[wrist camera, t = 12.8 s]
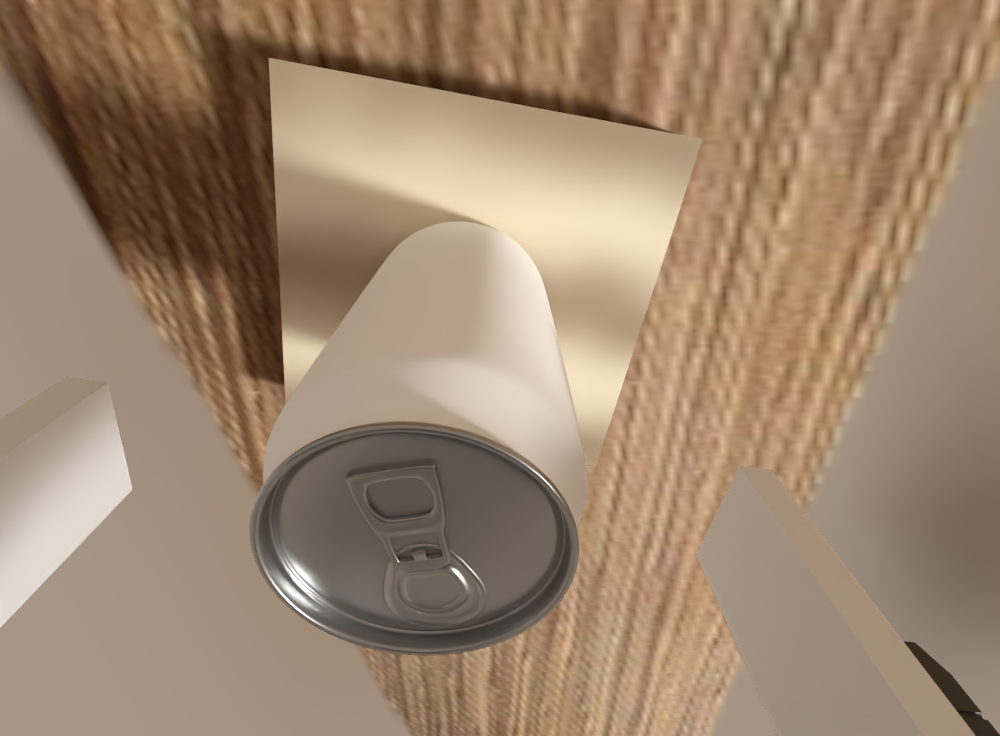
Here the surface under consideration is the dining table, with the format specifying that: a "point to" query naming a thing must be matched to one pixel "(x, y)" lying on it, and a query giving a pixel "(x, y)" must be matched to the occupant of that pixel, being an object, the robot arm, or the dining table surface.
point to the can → (429, 457)
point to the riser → (471, 209)
